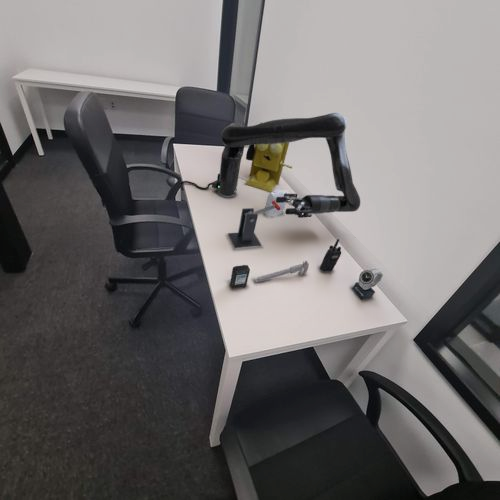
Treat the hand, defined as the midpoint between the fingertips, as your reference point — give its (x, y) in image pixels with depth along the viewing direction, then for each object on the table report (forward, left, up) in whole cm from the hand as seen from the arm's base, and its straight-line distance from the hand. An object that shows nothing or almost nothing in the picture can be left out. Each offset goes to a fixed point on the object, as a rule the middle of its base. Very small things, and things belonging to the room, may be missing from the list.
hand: (281, 205), depth 100 cm
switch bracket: (-8, -10, -16) cm, 20 cm away
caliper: (+13, -19, -16) cm, 28 cm away
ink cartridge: (+3, -32, -16) cm, 36 cm away
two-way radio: (+25, -3, -16) cm, 30 cm away
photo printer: (-8, +19, -16) cm, 27 cm away
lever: (-5, -5, -3) cm, 8 cm away
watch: (+40, -7, -16) cm, 43 cm away
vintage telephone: (-29, +44, -16) cm, 56 cm away
